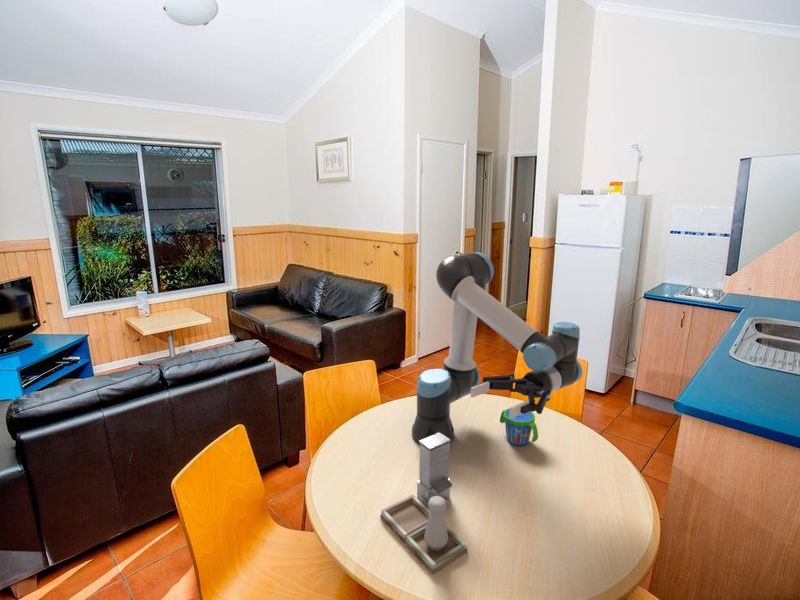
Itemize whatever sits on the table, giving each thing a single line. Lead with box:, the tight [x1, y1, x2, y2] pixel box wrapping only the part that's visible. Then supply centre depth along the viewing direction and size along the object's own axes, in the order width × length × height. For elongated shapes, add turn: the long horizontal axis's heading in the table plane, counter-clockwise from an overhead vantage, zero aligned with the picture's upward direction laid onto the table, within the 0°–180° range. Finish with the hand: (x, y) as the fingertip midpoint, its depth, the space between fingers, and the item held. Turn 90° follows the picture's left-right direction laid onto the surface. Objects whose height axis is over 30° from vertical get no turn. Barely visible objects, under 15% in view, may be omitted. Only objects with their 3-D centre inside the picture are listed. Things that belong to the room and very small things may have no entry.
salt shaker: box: [424, 496, 448, 552], centre depth 107 cm, size 6×6×13 cm
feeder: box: [416, 432, 453, 509], centre depth 122 cm, size 8×8×19 cm
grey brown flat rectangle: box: [380, 494, 469, 575], centre depth 113 cm, size 22×11×2 cm, turn 36°
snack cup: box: [499, 407, 539, 446], centre depth 153 cm, size 16×10×10 cm
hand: (490, 402), depth 115 cm, fingers open, 13 cm apart
